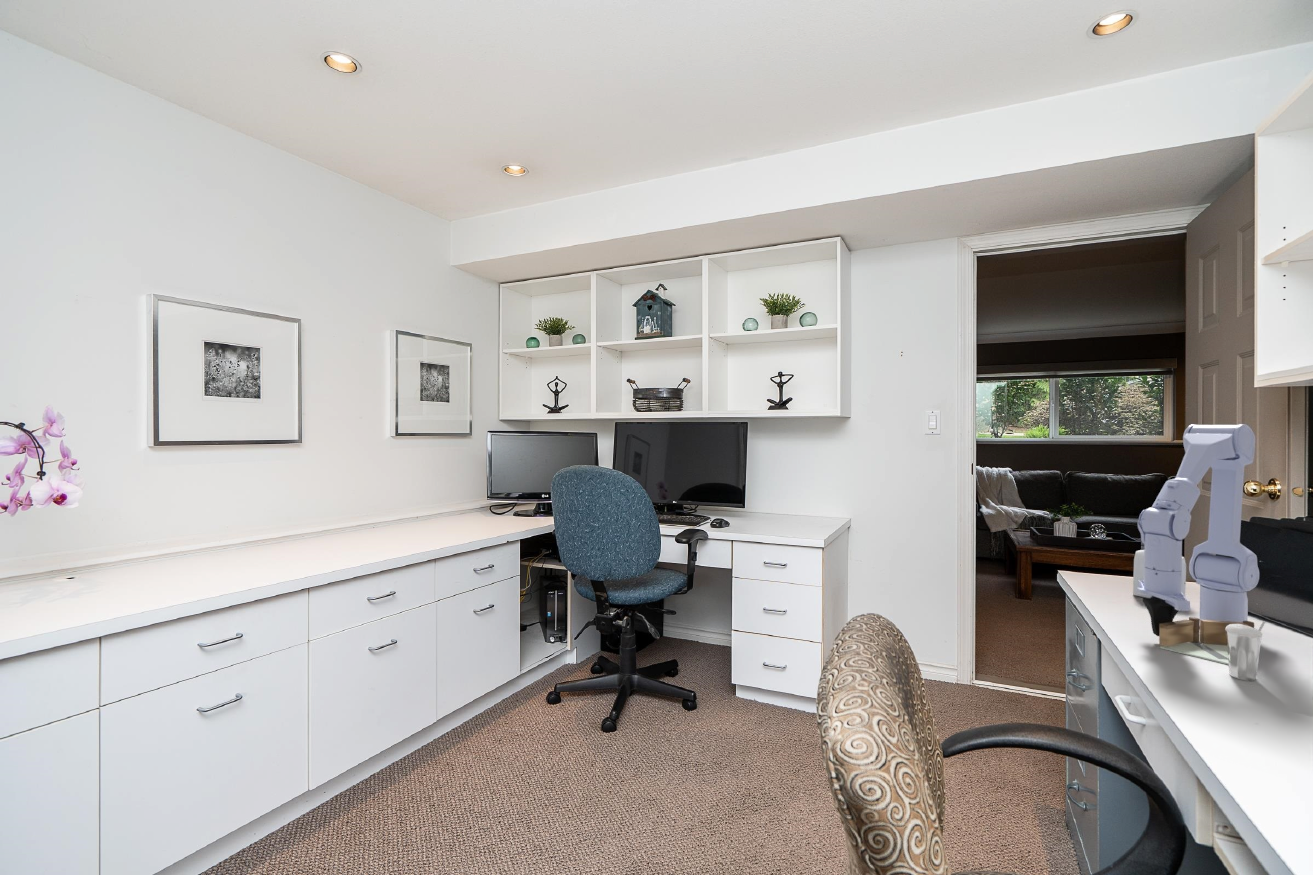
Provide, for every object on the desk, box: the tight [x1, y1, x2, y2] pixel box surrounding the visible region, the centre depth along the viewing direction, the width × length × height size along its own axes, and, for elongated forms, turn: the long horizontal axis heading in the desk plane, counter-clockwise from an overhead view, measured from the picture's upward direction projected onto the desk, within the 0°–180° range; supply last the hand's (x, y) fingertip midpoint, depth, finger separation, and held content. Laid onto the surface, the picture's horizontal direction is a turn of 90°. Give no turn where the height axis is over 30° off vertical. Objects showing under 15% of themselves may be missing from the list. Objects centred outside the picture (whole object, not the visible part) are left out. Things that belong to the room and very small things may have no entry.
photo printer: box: [1132, 549, 1187, 598], centre depth 149 cm, size 10×4×12 cm, turn 35°
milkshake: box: [1225, 620, 1266, 682], centre depth 103 cm, size 4×5×10 cm
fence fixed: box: [1188, 616, 1255, 645], centre depth 118 cm, size 2×10×5 cm, turn 75°
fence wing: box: [1158, 619, 1194, 646], centre depth 118 cm, size 8×1×4 cm, turn 109°
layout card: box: [1159, 633, 1229, 666], centre depth 117 cm, size 16×11×1 cm
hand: (1161, 635), depth 119 cm, fingers closed, pressing on fence wing
